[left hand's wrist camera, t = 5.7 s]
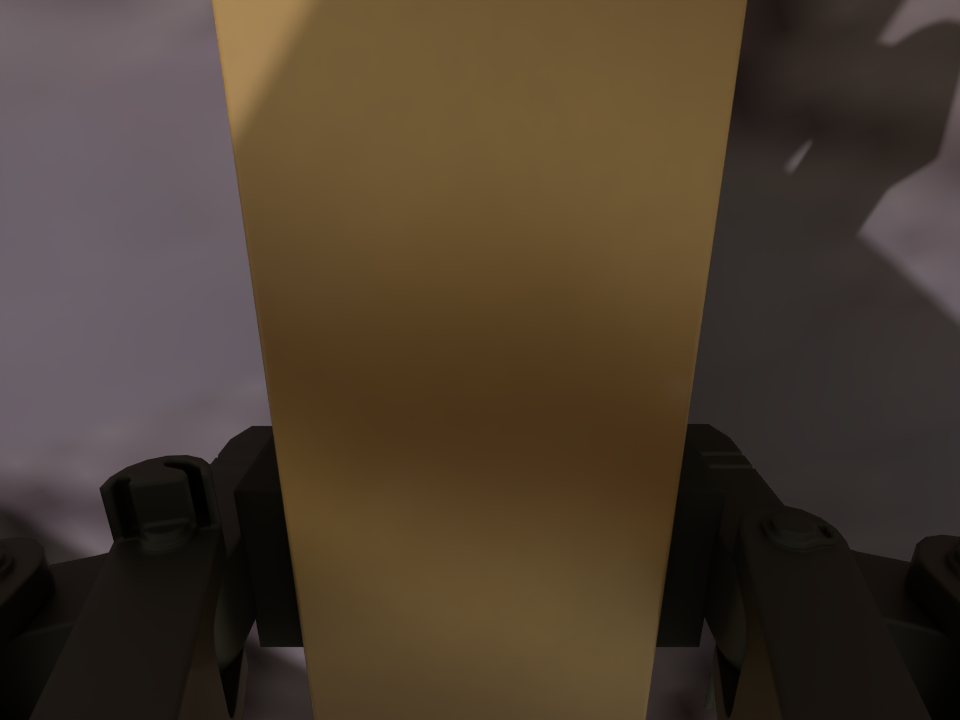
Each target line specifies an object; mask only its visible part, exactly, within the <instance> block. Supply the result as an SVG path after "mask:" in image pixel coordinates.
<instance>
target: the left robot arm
mask: <svg viewBox="0 0 960 720" xmlns="http://www.w3.org/2000/svg"><path fill="white" fill-rule="evenodd" d="M100 492H101V496H102V499H103V503H104V507H105V511H106V514H107V518H108V522H109V525H110V529H111V533H112V536H113V540H114V543H113V545H112V547H111V549H110V551H109V553H105V554H101V555H97V556H93V557H88V558H83V559H78V560H73V561H68V562H63V563H58V564H53V565H49V561H48V558H47V555H46V552H45V549H44V547H43V546H42V545H41V544H39V543H38V542H37V541H35V540H32V539H25V538H10V539H2V540H0V720H243V712H244V703H245V695H246V686H247V678H248V663H247V656H246V651H245V646H244V643H245V641H246V639H247V636H248V634H249V632H250V630H251V628H252V625H253V623H254V621H255V619H256V623H257V629H258V635H259V640H260V646H261V647H304V646H303V639H302V632H301V625H300V618H299V611H298V604H297V597H296V590H295V583H294V576H293V569H292V562H291V555H290V548H289V541H288V534H287V527H286V519H285V512H284V505H283V498H282V491H281V484H280V477H279V470H278V463H277V456H276V449H275V442H274V435H273V428H272V426H251V427H250V428H248V429H246V430H245V431H243V432H242V433H240V434H238V435H237V436H235V437H233V438H232V439H230V441H229V442H228V443H227V444H226V446H225V447H224V448H223V449H222V451H221V452H220V453H219V454H218V458H215V459H214V461H213V462H212V463H211V464H209V463H207V462H206V461H205V460H203V459H202V458H198V457H193V456H188V455H175V456H164V457H159V458H154V459H149V460H145V461H143V462H140V463H137V464H134V465H132V466H129V467H126V468H125V469H123V470H121V471H120V472H118V473H116V474H115V475H113V476H111V477H110V478H109V479H108V480H107V481H106V482H105V483H104V484H103V485H102V486H101V487H100ZM704 617H705V619H706V621H707V623H708V625H709V628H710V630H711V632H712V634H713V636H714V638H715V641H716V646H715V651H714V656H713V661H712V667H711V672H710V677H709V683H708V688H707V693H706V699H705V706H704V708H707V709H713V704H714V699H715V702H716V710H717V719H718V720H960V537H957V536H948V535H937V536H930V537H925V538H924V539H923V540H921V541H920V542H919V543H917V544H916V548H915V551H914V554H913V557H912V560H911V562H906V561H901V560H896V559H891V558H886V557H881V556H876V555H871V554H866V553H861V552H857V551H854V550H850V548H849V546H848V544H847V542H846V540H845V539H844V538H843V537H842V535H841V534H840V533H839V531H838V530H837V529H836V528H834V527H833V526H832V525H830V524H829V523H827V522H826V521H824V520H823V519H821V518H820V517H817V516H815V515H813V514H810V513H808V512H806V511H803V510H801V509H796V508H792V507H788V506H784V505H783V503H782V502H781V501H780V500H779V498H778V497H777V496H776V495H775V493H774V492H773V491H772V490H771V488H770V487H769V486H768V485H767V483H766V482H765V481H764V480H763V478H762V477H761V476H760V475H759V473H758V472H757V471H756V470H755V469H752V465H751V464H750V462H749V461H748V460H747V459H746V457H745V456H742V452H741V451H740V450H739V449H738V447H737V446H736V445H735V444H734V442H733V441H732V440H731V439H730V437H728V436H727V435H725V434H723V433H722V432H720V431H718V430H717V429H715V428H714V427H712V426H710V425H709V424H687V430H686V437H685V444H684V451H683V459H682V466H681V473H680V480H679V487H678V494H677V501H676V508H675V515H674V522H673V529H672V536H671V543H670V550H669V558H668V565H667V572H666V579H665V586H664V593H663V600H662V607H661V614H660V621H659V628H658V635H657V642H656V647H699V644H700V638H701V633H702V627H703V621H704Z"/></svg>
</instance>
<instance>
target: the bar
mask: <svg viewBox="0 0 960 720" xmlns="http://www.w3.org/2000/svg"><path fill="white" fill-rule="evenodd" d="M212 5H213V12H214V19H215V26H216V33H217V40H218V47H219V54H220V61H221V68H222V75H223V82H224V89H225V97H226V104H227V111H228V118H229V125H230V132H231V139H232V146H233V153H234V160H235V167H236V174H237V181H238V188H239V195H240V202H241V209H242V216H243V223H244V230H245V238H246V245H247V252H248V259H249V266H250V273H251V280H252V287H253V294H254V301H255V308H256V315H257V322H258V329H259V336H260V343H261V350H262V357H263V364H264V371H265V378H266V386H267V393H268V400H269V407H270V414H271V421H272V428H273V435H274V442H275V449H276V456H277V463H278V470H279V477H280V484H281V491H282V498H283V505H284V512H285V519H286V527H287V534H288V541H289V548H290V555H291V562H292V569H293V576H294V583H295V590H296V597H297V604H298V611H299V618H300V625H301V632H302V639H303V646H304V653H305V660H306V667H307V675H308V682H309V689H310V696H311V703H312V710H313V717H314V720H646V713H647V706H648V699H649V692H650V685H651V678H652V671H653V664H654V657H655V649H656V642H657V635H658V628H659V621H660V614H661V607H662V600H663V593H664V586H665V579H666V572H667V565H668V558H669V550H670V543H671V536H672V529H673V522H674V515H675V508H676V501H677V494H678V487H679V480H680V473H681V466H682V459H683V451H684V444H685V437H686V430H687V423H688V416H689V409H690V402H691V395H692V388H693V381H694V374H695V367H696V360H697V352H698V345H699V338H700V331H701V324H702V317H703V310H704V303H705V296H706V289H707V282H708V275H709V268H710V261H711V253H712V246H713V239H714V232H715V225H716V218H717V211H718V204H719V197H720V190H721V183H722V176H723V169H724V162H725V154H726V147H727V140H728V133H729V126H730V119H731V112H732V105H733V98H734V91H735V84H736V77H737V70H738V63H739V55H740V48H741V41H742V34H743V27H744V20H745V13H746V6H747V0H212Z"/></svg>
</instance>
